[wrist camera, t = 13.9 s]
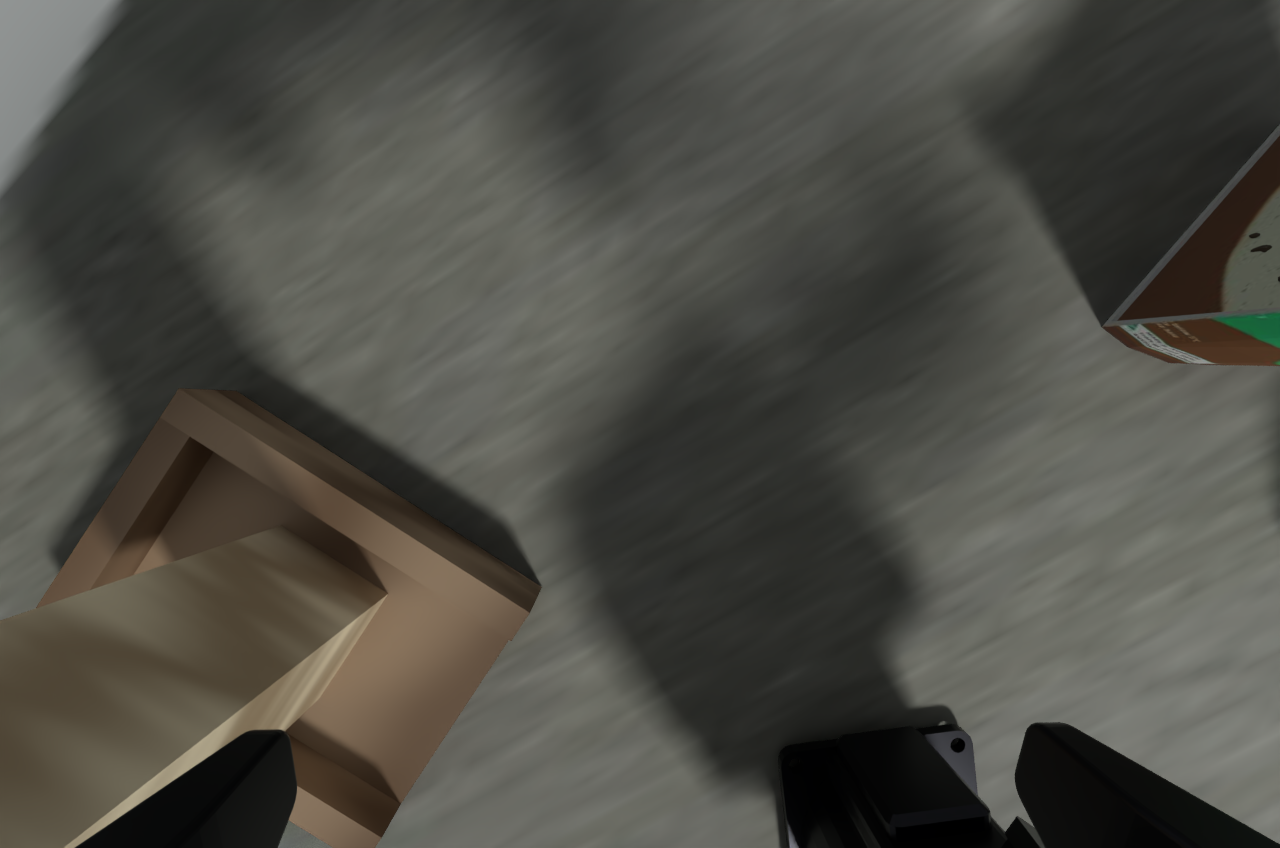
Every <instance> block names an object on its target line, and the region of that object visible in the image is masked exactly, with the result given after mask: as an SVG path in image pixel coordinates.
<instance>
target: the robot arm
mask: <svg viewBox="0 0 1280 848" xmlns="http://www.w3.org/2000/svg"><path fill="white" fill-rule="evenodd" d="M955 738H959V739H958V742H957V744H956V745H953V746H950V745H951V742H952V740H953V739H955ZM793 759H799V760H800V762H799V763H798V765H796V766H794V767H792V766H789V763H790V761H791V760H793ZM778 765H779V774H780V783H781V792H782V801H783V810H784V820H785V829H786V838H787V847H788V848H1280V844H1278V843H1276V842H1275V841H1273V840H1271V839H1269V838H1268V837H1266V836H1264V835H1262V834H1261V833H1259V832H1257V831H1255V830H1254V829H1252V828H1250V827H1248V826H1247V825H1245V824H1243V823H1241V822H1240V821H1238V820H1236V819H1234V818H1232V817H1231V816H1229V815H1227V814H1225V813H1224V812H1222V811H1220V810H1218V809H1217V808H1215V807H1213V806H1211V805H1210V804H1208V803H1206V802H1204V801H1203V800H1201V799H1199V798H1197V797H1196V796H1194V795H1192V794H1190V793H1189V792H1187V791H1185V790H1183V789H1182V788H1180V787H1178V786H1176V785H1175V784H1173V783H1171V782H1169V781H1168V780H1166V779H1164V778H1162V777H1161V776H1159V775H1157V774H1155V773H1153V772H1152V771H1150V770H1148V769H1146V768H1145V767H1143V766H1141V765H1139V764H1138V763H1136V762H1134V761H1132V760H1131V759H1129V758H1127V757H1125V756H1124V755H1122V754H1120V753H1118V752H1117V751H1115V750H1113V749H1111V748H1110V747H1108V746H1106V745H1104V744H1103V743H1101V742H1099V741H1097V740H1096V739H1094V738H1092V737H1090V736H1089V735H1087V734H1085V733H1083V732H1081V731H1080V730H1078V729H1076V728H1074V727H1073V726H1071V725H1068V724H1065V723H1060V722H1055V723H1034V724H1031V725H1030V726H1029V727H1028V728H1027V730H1026V733H1025V736H1024V740H1023V744H1022V748H1021V752H1020V755H1019V759H1018V763H1017V767H1016V770H1015V784H1016V789H1017V792H1018V795H1019V797H1020V799H1021V801H1022V803H1023V805H1024V807H1025V809H1026V811H1027V813H1028V815H1029V817H1030V819H1031V821H1032V823H1033V825H1034V827H1035V828H1034V827H1033V826H1031V825H1030V824H1028V823H1027V822H1026V821H1024V820H1023V819H1021V818H1020V817H1018V816H1017V817H1016V818H1015V820H1014V821H1013V822H1012V824H1011V825H1010V827H1009V828H1008V829H1007V831H1006V832H1005V831H1004V830H1003V829H1002V828H1001V827H1000V826H999V825H998V824H997V822H996V821H995V820H994V819H993V818H992V817H991V816H990V810H989V808H988V807H987V805H986V804H985V803H984V802H983V801H982V800H981V799H980V798H979V797H978V793H977V783H976V773H975V763H974V753H973V743H972V740H971V738H970V736H969V735H968V734H967V733H966V732H965V731H964V730H963V729H962V728H961V727H959V726H957V725H952V724H949V725H941V726H933V727H925V728H918V729H915V728H914V727H911V726H909V727H901V728H894V729H886V730H878V731H870V732H863V733H855V734H847V735H842V736H841V737H840V738H839V739H832V740H825V741H817V742H809V743H802V744H794V745H789V746H786V747H785V748H783V749H782V750H781V752H780V754H779V756H778ZM296 795H297V778H296V772H295V766H294V759H293V753H292V747H291V741H290V737H289V735H288V733H287V732H286V731H284V730H280V729H268V730H250V731H247V732H245V733H243V734H241V735H240V736H238V737H237V738H235V739H234V740H232V741H231V742H229V743H228V744H226V745H225V746H223V747H222V748H220V749H219V750H218V751H216V752H215V753H213V754H212V755H210V756H209V757H207V758H206V759H204V760H203V761H201V762H200V763H198V764H197V765H195V766H194V767H193V768H191V769H190V770H188V771H187V772H185V773H184V774H182V775H181V776H179V777H178V778H176V779H175V780H173V781H172V782H170V783H169V784H167V785H166V786H165V787H163V788H162V789H160V790H159V791H157V792H156V793H154V794H153V795H151V796H150V797H148V798H147V799H145V800H144V801H142V802H141V803H139V804H138V805H137V806H135V807H134V808H132V809H131V810H129V811H128V812H126V813H125V814H123V815H122V816H120V817H119V818H117V819H116V820H114V821H113V822H111V823H110V824H109V825H107V826H106V827H104V828H103V829H101V830H100V831H98V832H97V833H95V834H94V835H92V836H91V837H89V838H88V839H86V840H85V841H84V842H82V843H81V844H79V845H78V846H76V847H75V848H278V845H279V843H280V840H281V838H282V835H283V833H284V830H285V828H286V825H287V823H288V820H289V818H290V815H291V813H292V810H293V807H294V804H295V800H296Z"/></svg>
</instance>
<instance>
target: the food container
mask: <svg viewBox="0 0 1280 848" xmlns="http://www.w3.org/2000/svg"><path fill="white" fill-rule="evenodd" d="M1102 328H1103V329H1105V330H1106V331H1107V332H1109V333H1110V334H1111V335H1113V336H1114V337H1115V338H1116V339H1118V340H1119V341H1120V342H1122V343H1123V344H1124V345H1126V346H1127V347H1129V348H1131V349H1134V350H1137V351H1139V352H1142V353H1144V354H1147V355H1150V356H1152V357H1155V358H1157V359H1160V360H1163V361H1165V362H1168V363H1183V364H1204V365H1257V366H1280V124H1279V126H1278V127H1277V128H1276V129H1275V130H1274V131H1273V132H1272V134H1271V135H1270V136H1269V137H1268V138H1267V139H1266V140H1265V141H1264V143H1263V144H1262V145H1261V146H1260V147H1259V148H1258V149H1257V151H1256V152H1255V153H1254V154H1253V155H1252V156H1251V157H1250V159H1249V160H1248V161H1247V162H1246V163H1245V164H1244V165H1243V167H1242V168H1241V169H1240V170H1239V171H1238V172H1237V173H1236V174H1235V176H1234V177H1233V178H1232V179H1231V180H1230V181H1229V182H1228V184H1227V185H1226V186H1225V187H1224V188H1223V189H1222V190H1221V192H1220V193H1219V194H1218V195H1217V196H1216V197H1215V198H1214V200H1213V201H1212V202H1211V203H1210V204H1209V205H1208V206H1207V208H1206V209H1205V210H1204V211H1203V212H1202V213H1201V214H1200V215H1199V217H1198V218H1197V219H1196V220H1195V221H1194V222H1193V223H1192V225H1191V226H1190V227H1189V228H1188V229H1187V230H1186V231H1185V233H1184V234H1183V235H1182V236H1181V237H1180V238H1179V239H1178V241H1177V242H1176V243H1175V244H1174V245H1173V246H1172V247H1171V248H1170V250H1169V251H1168V252H1167V253H1166V254H1165V255H1164V256H1163V258H1162V259H1161V260H1160V261H1159V262H1158V263H1157V264H1156V266H1155V267H1154V268H1153V269H1152V270H1151V271H1150V272H1149V274H1148V275H1147V276H1146V277H1145V278H1144V279H1143V280H1142V281H1141V283H1140V284H1139V285H1138V286H1137V287H1136V288H1135V289H1134V291H1133V292H1132V293H1131V294H1130V295H1129V296H1128V297H1127V299H1126V300H1125V301H1124V302H1123V303H1122V304H1121V305H1120V307H1119V308H1118V309H1117V310H1116V311H1115V312H1114V313H1113V314H1112V316H1111V317H1110V318H1109V319H1108V320H1107V321H1106V322H1105V324H1104V325H1103V326H1102Z"/></svg>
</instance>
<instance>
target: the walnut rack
mask: <svg viewBox="0 0 1280 848" xmlns="http://www.w3.org/2000/svg"><path fill="white" fill-rule="evenodd" d="M280 525H281V526H283V527H284V528H286V529H287V530H289V531H290V532H292V533H294V534H295V535H297V536H298V537H300V538H301V539H303V540H305V541H306V542H308V543H309V544H311V545H312V546H314V547H316V548H317V549H319V550H320V551H322V552H323V553H325V554H327V555H328V556H330V557H331V558H333V559H334V560H336V561H338V562H339V563H341V564H342V565H344V566H345V567H347V568H349V569H350V570H352V571H353V572H355V573H356V574H358V575H360V576H361V577H363V578H364V579H366V580H368V581H369V582H371V583H372V584H374V585H375V586H377V587H379V588H380V589H382V590H383V591H385V592H386V593H388V595H387V597H386V598H385V600H384V601H383V603H382V604H381V606H380V607H379V609H378V610H377V612H376V613H375V615H374V616H373V618H372V619H371V621H370V622H369V624H368V625H367V627H366V629H365V630H364V632H363V633H362V635H361V636H360V638H359V639H358V641H357V642H356V644H355V645H354V647H353V648H352V650H351V651H350V653H349V654H348V656H347V657H346V659H345V660H344V662H343V664H342V665H341V667H340V668H339V670H338V671H337V673H336V674H335V676H334V677H333V679H332V680H331V682H330V683H329V685H328V686H327V688H326V689H325V691H324V692H323V694H322V695H321V697H320V698H319V699H318V700H317V701H316V702H315V703H314V704H313V705H312V706H311V707H310V708H309V709H308V710H307V711H306V712H305V713H304V714H303V715H301V716H300V717H299V718H298V719H297V720H296V721H295V722H294V723H293V724H292V725H291V726H290V727H289V728H288V729H287V730H286V732H287V733H288V735H289V737H290V741H291V747H292V753H293V759H294V766H295V772H296V778H297V795H296V800H295V804H294V807H293V810H292V813H291V815H290V818H289V821H291V822H292V823H294V824H296V825H297V826H299V827H301V828H302V829H304V830H305V831H307V832H309V833H310V834H312V835H314V836H315V837H317V838H318V839H320V840H322V841H323V842H325V843H327V844H328V845H330V846H331V847H333V848H375V847H376V845H377V844H378V842H379V841H380V839H381V838H382V836H383V834H384V833H385V831H386V829H387V827H388V826H389V824H390V822H391V820H392V819H393V817H394V815H395V813H396V811H397V810H398V808H399V806H400V804H401V803H402V801H403V800H404V798H405V797H406V795H407V794H408V792H409V791H410V789H411V788H412V786H413V785H414V783H415V782H416V780H417V779H418V777H419V776H420V774H421V772H422V771H423V769H424V768H425V766H426V765H427V763H428V762H429V760H430V759H431V757H432V756H433V754H434V753H435V751H436V750H437V748H438V747H439V745H440V744H441V742H442V741H443V739H444V738H445V736H446V735H447V733H448V731H449V730H450V728H451V727H452V725H453V724H454V722H455V721H456V719H457V718H458V716H459V715H460V713H461V712H462V710H463V709H464V707H465V706H466V704H467V703H468V701H469V700H470V698H471V697H472V695H473V694H474V692H475V691H476V689H477V687H478V686H479V684H480V683H481V681H482V680H483V678H484V677H485V675H486V674H487V672H488V671H489V669H490V668H491V666H492V665H493V663H494V662H495V660H496V659H497V657H498V656H499V654H500V653H501V651H502V650H503V648H504V647H505V645H506V643H507V642H508V640H510V641H512V639H513V638H514V636H515V635H516V633H517V632H518V630H519V628H520V627H521V625H522V624H523V622H524V621H525V619H526V618H527V616H528V615H529V613H530V611H531V609H532V607H533V605H534V603H535V601H536V599H537V596H538V594H539V592H540V590H541V588H542V587H541V586H539V585H538V584H536V583H535V582H533V581H531V580H530V579H528V578H527V577H525V576H524V575H522V574H521V573H519V572H517V571H516V570H514V569H513V568H511V567H510V566H508V565H507V564H505V563H503V562H502V561H500V560H499V559H497V558H496V557H494V556H493V555H491V554H489V553H488V552H486V551H485V550H483V549H482V548H480V547H478V546H477V545H475V544H474V543H472V542H471V541H469V540H468V539H466V538H464V537H463V536H461V535H460V534H458V533H457V532H455V531H454V530H452V529H450V528H449V527H447V526H446V525H444V524H443V523H441V522H440V521H438V520H436V519H435V518H433V517H432V516H430V515H429V514H427V513H426V512H424V511H422V510H421V509H419V508H418V507H416V506H415V505H413V504H412V503H410V502H408V501H407V500H405V499H404V498H402V497H401V496H399V495H398V494H396V493H394V492H393V491H391V490H390V489H388V488H387V487H385V486H383V485H382V484H380V483H379V482H377V481H376V480H374V479H373V478H371V477H369V476H368V475H366V474H365V473H363V472H362V471H360V470H359V469H357V468H355V467H354V466H352V465H351V464H349V463H348V462H346V461H345V460H343V459H341V458H340V457H338V456H337V455H335V454H334V453H332V452H331V451H329V450H327V449H326V448H324V447H323V446H321V445H320V444H318V443H317V442H315V441H313V440H312V439H310V438H309V437H307V436H306V435H304V434H302V433H301V432H299V431H298V430H296V429H295V428H293V427H292V426H290V425H288V424H287V423H285V422H284V421H282V420H281V419H279V418H278V417H276V416H274V415H273V414H271V413H270V412H268V411H267V410H265V409H264V408H262V407H260V406H259V405H257V404H256V403H254V402H253V401H251V400H250V399H248V398H246V397H245V396H243V395H242V394H240V393H239V392H237V391H227V390H205V389H183V388H179V389H178V390H177V392H176V393H175V395H174V396H173V398H172V399H171V401H170V402H169V404H168V406H167V407H166V409H165V410H164V412H163V413H162V415H161V416H160V418H159V419H158V421H157V422H156V424H155V426H154V427H153V429H152V430H151V432H150V433H149V435H148V436H147V438H146V439H145V441H144V442H143V444H142V446H141V447H140V449H139V450H138V452H137V453H136V455H135V456H134V458H133V459H132V461H131V462H130V464H129V466H128V467H127V469H126V470H125V472H124V473H123V475H122V476H121V478H120V479H119V481H118V482H117V484H116V486H115V487H114V489H113V490H112V492H111V493H110V495H109V496H108V498H107V499H106V501H105V502H104V504H103V505H102V507H101V509H100V510H99V512H98V513H97V515H96V516H95V518H94V519H93V521H92V522H91V524H90V525H89V527H88V529H87V530H86V532H85V533H84V535H83V536H82V538H81V539H80V541H79V542H78V544H77V545H76V547H75V549H74V550H73V552H72V553H71V555H70V556H69V558H68V559H67V561H66V562H65V564H64V565H63V567H62V569H61V570H60V572H59V573H58V575H57V576H56V578H55V579H54V581H53V582H52V584H51V585H50V587H49V589H48V590H47V592H46V593H45V595H44V596H43V598H42V599H41V601H40V602H39V604H38V605H37V607H36V608H39V607H42V606H45V605H48V604H51V603H54V602H57V601H59V600H62V599H65V598H68V597H71V596H74V595H77V594H80V593H83V592H86V591H89V590H92V589H95V588H98V587H101V586H104V585H107V584H110V583H112V582H115V581H118V580H121V579H124V578H127V577H130V576H133V575H136V574H139V573H142V572H145V571H148V570H151V569H154V568H157V567H160V566H163V565H166V564H168V563H171V562H174V561H177V560H180V559H183V558H186V557H189V556H192V555H195V554H198V553H201V552H204V551H207V550H210V549H213V548H216V547H219V546H221V545H224V544H227V543H230V542H233V541H236V540H239V539H242V538H245V537H248V536H251V535H254V534H257V533H260V532H263V531H266V530H269V529H272V528H275V527H277V526H280ZM36 608H35V609H36Z"/></svg>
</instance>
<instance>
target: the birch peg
mask: <svg viewBox="0 0 1280 848" xmlns="http://www.w3.org/2000/svg"><path fill="white" fill-rule="evenodd" d="M387 595H388V593H386V592H385V591H383V590H382V589H380V588H379V587H377V586H375V585H374V584H372V583H371V582H369V581H368V580H366V579H364V578H363V577H361V576H360V575H358V574H356V573H355V572H353V571H352V570H350V569H349V568H347V567H345V566H344V565H342V564H341V563H339V562H338V561H336V560H334V559H333V558H331V557H330V556H328V555H327V554H325V553H323V552H322V551H320V550H319V549H317V548H316V547H314V546H312V545H311V544H309V543H308V542H306V541H305V540H303V539H301V538H300V537H298V536H297V535H295V534H294V533H292V532H290V531H289V530H287V529H286V528H284V527H283V526H281V525H280V526H277V527H275V528H272V529H269V530H266V531H263V532H260V533H257V534H254V535H251V536H248V537H245V538H242V539H239V540H236V541H233V542H230V543H227V544H224V545H221V546H219V547H216V548H213V549H210V550H207V551H204V552H201V553H198V554H195V555H192V556H189V557H186V558H183V559H180V560H177V561H174V562H171V563H168V564H166V565H163V566H160V567H157V568H154V569H151V570H148V571H145V572H142V573H139V574H136V575H133V576H130V577H127V578H124V579H121V580H118V581H115V582H112V583H110V584H107V585H104V586H101V587H98V588H95V589H92V590H89V591H86V592H83V593H80V594H77V595H74V596H71V597H68V598H65V599H62V600H59V601H57V602H54V603H51V604H48V605H45V606H42V607H39V608H36V609H33V610H30V611H27V612H24V613H21V614H18V615H15V616H12V617H9V618H6V619H3V620H1V621H0V848H75V847H76V846H78V845H79V844H81V843H82V842H84V841H85V840H86V839H88V838H89V837H91V836H92V835H94V834H95V833H97V832H98V831H100V830H101V829H103V828H104V827H106V826H107V825H109V824H110V823H111V822H113V821H114V820H116V819H117V818H119V817H120V816H122V815H123V814H125V813H126V812H128V811H129V810H131V809H132V808H134V807H135V806H137V805H138V804H139V803H141V802H142V801H144V800H145V799H147V798H148V797H150V796H151V795H153V794H154V793H156V792H157V791H159V790H160V789H162V788H163V787H165V786H166V785H167V784H169V783H170V782H172V781H173V780H175V779H176V778H178V777H179V776H181V775H182V774H184V773H185V772H187V771H188V770H190V769H191V768H193V767H194V766H195V765H197V764H198V763H200V762H201V761H203V760H204V759H206V758H207V757H209V756H210V755H212V754H213V753H215V752H216V751H218V750H219V749H220V748H222V747H223V746H225V745H226V744H228V743H229V742H231V741H232V740H234V739H235V738H237V737H238V736H240V735H241V734H243V733H245V732H247V731H250V730H268V729H280V730H284V731H286V730H287V729H288V728H289V727H290V726H291V725H292V724H293V723H294V722H295V721H296V720H297V719H298V718H299V717H300V716H301V715H303V714H304V713H305V712H306V711H307V710H308V709H309V708H310V707H311V706H312V705H313V704H314V703H315V702H316V701H317V700H318V699H319V698H320V697H321V695H322V694H323V692H324V691H325V689H326V688H327V686H328V685H329V683H330V682H331V680H332V679H333V677H334V676H335V674H336V673H337V671H338V670H339V668H340V667H341V665H342V664H343V662H344V660H345V659H346V657H347V656H348V654H349V653H350V651H351V650H352V648H353V647H354V645H355V644H356V642H357V641H358V639H359V638H360V636H361V635H362V633H363V632H364V630H365V629H366V627H367V625H368V624H369V622H370V621H371V619H372V618H373V616H374V615H375V613H376V612H377V610H378V609H379V607H380V606H381V604H382V603H383V601H384V600H385V598H386V597H387Z"/></svg>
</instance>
